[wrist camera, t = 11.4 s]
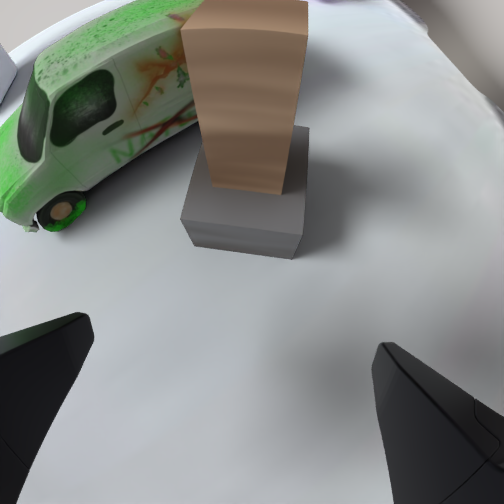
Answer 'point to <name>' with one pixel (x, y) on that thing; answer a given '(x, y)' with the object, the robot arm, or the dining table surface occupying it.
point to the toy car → (95, 110)
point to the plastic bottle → (6, 72)
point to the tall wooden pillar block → (247, 126)
